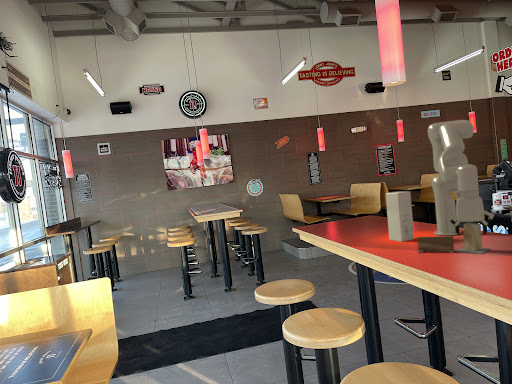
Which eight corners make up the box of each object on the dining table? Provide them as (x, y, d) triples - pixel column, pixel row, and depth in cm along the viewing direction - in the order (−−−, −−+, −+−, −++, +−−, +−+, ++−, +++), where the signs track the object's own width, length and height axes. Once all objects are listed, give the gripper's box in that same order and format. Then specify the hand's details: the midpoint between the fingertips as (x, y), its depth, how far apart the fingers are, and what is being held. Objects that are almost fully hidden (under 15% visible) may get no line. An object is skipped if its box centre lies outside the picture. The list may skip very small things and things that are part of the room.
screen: (418, 250, 170) (417, 236, 169) (453, 250, 164) (452, 235, 164) (418, 252, 165) (417, 238, 165) (454, 252, 159) (453, 237, 159)
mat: (464, 247, 167) (464, 246, 167) (489, 248, 160) (489, 248, 160) (456, 251, 160) (456, 251, 160) (482, 253, 153) (482, 252, 153)
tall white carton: (401, 237, 204) (397, 191, 203) (414, 239, 196) (410, 191, 195) (389, 239, 201) (385, 193, 200) (401, 241, 193) (397, 193, 192)
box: (464, 249, 162) (462, 223, 161) (471, 247, 163) (469, 222, 163) (475, 251, 157) (473, 224, 156) (483, 249, 158) (481, 223, 158)
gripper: (446, 196, 160) (449, 236, 161) (493, 194, 152) (496, 235, 153) (445, 195, 166) (448, 233, 167) (491, 192, 159) (493, 232, 160)
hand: (471, 234), depth 160 cm, fingers open, 9 cm apart
